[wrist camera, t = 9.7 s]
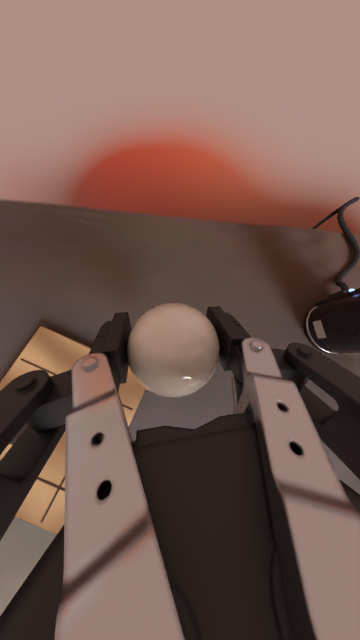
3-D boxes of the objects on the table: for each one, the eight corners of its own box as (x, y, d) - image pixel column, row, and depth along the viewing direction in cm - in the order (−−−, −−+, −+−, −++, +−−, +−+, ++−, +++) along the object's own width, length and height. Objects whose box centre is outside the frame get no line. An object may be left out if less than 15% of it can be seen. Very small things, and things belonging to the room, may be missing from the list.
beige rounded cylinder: (155, 316, 16) (150, 268, 7) (202, 338, 16) (252, 316, 7) (130, 365, 15) (87, 379, 6) (181, 388, 15) (213, 435, 6)
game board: (47, 327, 25) (39, 325, 23) (151, 375, 25) (151, 376, 23) (-53, 471, 19) (-71, 480, 18) (80, 528, 20) (73, 543, 18)
